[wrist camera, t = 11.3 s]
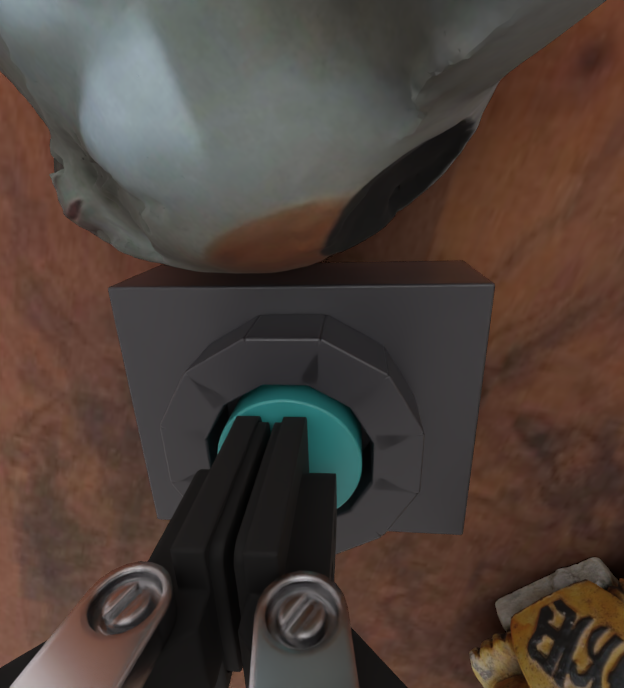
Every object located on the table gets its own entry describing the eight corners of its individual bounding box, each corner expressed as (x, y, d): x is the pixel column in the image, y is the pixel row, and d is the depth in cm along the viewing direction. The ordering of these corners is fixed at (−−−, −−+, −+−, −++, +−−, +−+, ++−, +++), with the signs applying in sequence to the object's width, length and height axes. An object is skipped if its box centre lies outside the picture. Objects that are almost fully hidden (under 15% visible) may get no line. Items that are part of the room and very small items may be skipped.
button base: (159, 264, 14) (61, 305, 9) (464, 260, 13) (524, 303, 8) (192, 460, 17) (129, 566, 12) (443, 469, 16) (479, 588, 11)
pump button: (229, 367, 11) (207, 398, 10) (362, 368, 11) (363, 401, 9) (241, 474, 13) (224, 518, 11) (360, 479, 12) (361, 525, 11)
